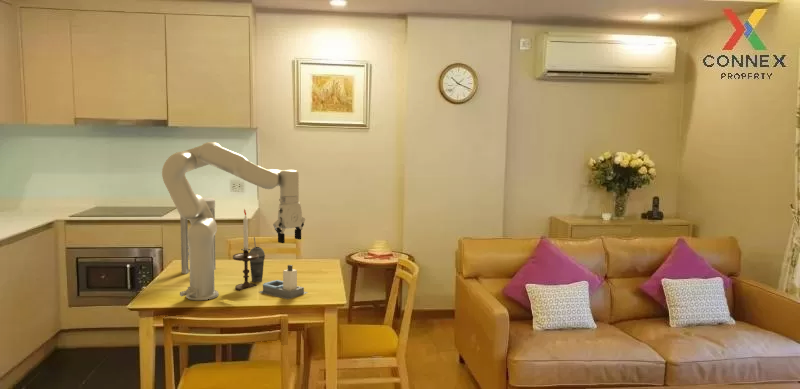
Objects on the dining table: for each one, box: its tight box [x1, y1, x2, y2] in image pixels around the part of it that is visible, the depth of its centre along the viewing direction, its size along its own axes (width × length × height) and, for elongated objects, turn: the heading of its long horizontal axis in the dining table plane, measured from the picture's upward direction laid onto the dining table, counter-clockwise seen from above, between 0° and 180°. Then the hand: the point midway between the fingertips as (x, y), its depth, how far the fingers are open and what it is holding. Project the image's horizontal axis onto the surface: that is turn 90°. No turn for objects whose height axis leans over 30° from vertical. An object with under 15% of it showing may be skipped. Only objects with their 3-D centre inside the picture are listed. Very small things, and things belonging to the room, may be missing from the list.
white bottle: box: [282, 264, 298, 291], centre depth 237 cm, size 4×4×12 cm
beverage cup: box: [248, 236, 266, 283], centre depth 259 cm, size 7×7×20 cm
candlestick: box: [232, 208, 259, 291], centre depth 246 cm, size 11×11×35 cm
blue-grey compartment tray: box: [259, 279, 309, 300], centre depth 239 cm, size 12×17×4 cm
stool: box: [179, 196, 217, 275], centre depth 272 cm, size 16×16×35 cm
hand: (289, 240), depth 237 cm, fingers open, 9 cm apart
